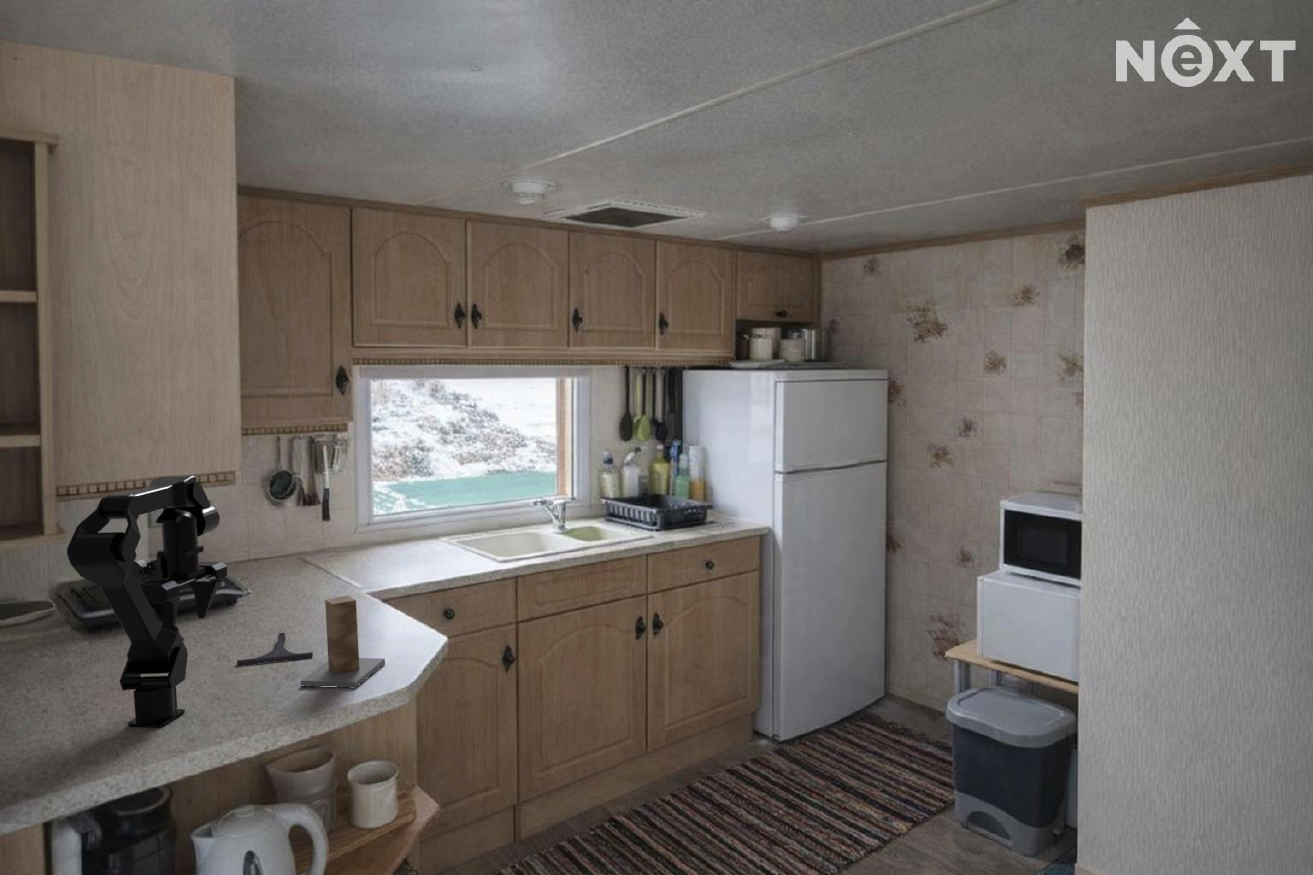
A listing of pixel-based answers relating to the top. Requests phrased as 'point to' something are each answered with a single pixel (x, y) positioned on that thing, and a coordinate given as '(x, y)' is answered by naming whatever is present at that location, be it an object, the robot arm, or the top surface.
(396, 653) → the top surface
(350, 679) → the far plate
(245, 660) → the squeegee
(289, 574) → the top surface
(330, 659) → the walnut block
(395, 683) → the top surface
